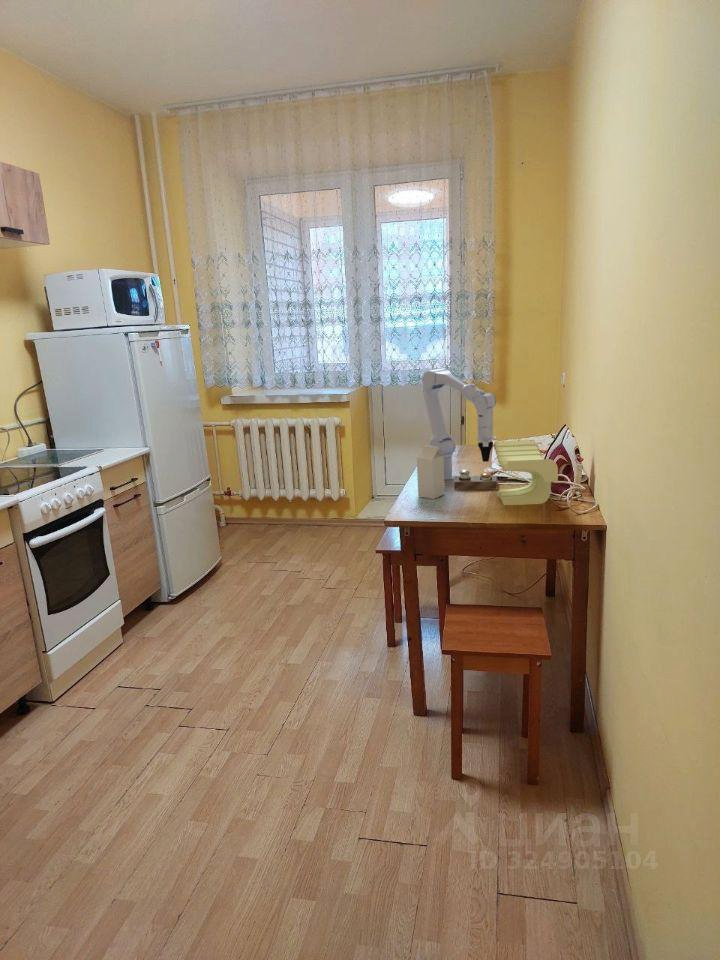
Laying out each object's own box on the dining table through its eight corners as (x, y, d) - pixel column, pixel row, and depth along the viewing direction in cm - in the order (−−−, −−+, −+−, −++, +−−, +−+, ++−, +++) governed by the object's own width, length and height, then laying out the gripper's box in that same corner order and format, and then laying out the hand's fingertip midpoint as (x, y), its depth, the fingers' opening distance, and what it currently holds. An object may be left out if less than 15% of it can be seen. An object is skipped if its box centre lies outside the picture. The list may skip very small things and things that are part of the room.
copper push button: (480, 486, 226) (480, 475, 224) (480, 483, 229) (480, 472, 228) (491, 486, 225) (491, 475, 224) (491, 483, 228) (491, 472, 227)
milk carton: (433, 499, 215) (432, 448, 210) (418, 496, 220) (416, 446, 215) (444, 494, 220) (443, 444, 215) (429, 491, 225) (427, 443, 220)
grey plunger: (459, 482, 227) (459, 472, 226) (459, 480, 231) (459, 469, 229) (469, 482, 226) (469, 471, 225) (470, 479, 230) (469, 469, 229)
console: (454, 489, 226) (453, 481, 225) (454, 483, 233) (454, 476, 233) (496, 488, 223) (496, 481, 222) (496, 483, 230) (496, 475, 229)
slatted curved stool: (556, 511, 194) (558, 458, 190) (507, 513, 196) (507, 461, 191) (537, 485, 223) (538, 439, 218) (495, 487, 225) (494, 441, 220)
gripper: (496, 429, 213) (496, 465, 217) (495, 422, 227) (496, 456, 231) (477, 430, 215) (477, 466, 218) (477, 422, 228) (477, 456, 232)
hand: (485, 461), depth 225 cm, fingers closed
